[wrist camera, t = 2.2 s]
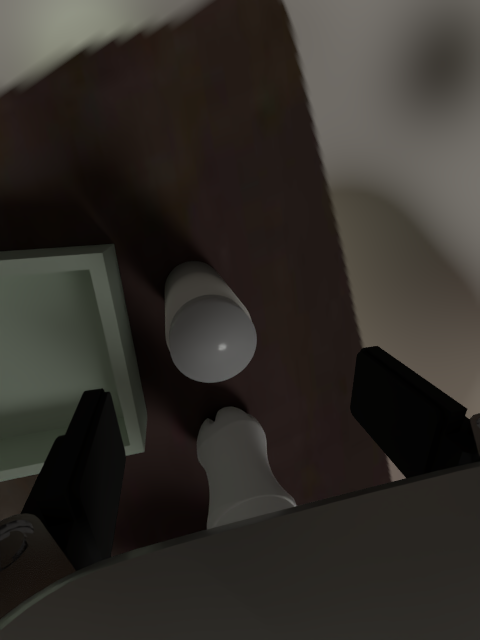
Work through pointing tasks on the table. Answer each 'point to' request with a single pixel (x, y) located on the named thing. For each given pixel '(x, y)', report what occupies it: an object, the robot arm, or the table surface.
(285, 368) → the table surface
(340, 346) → the table surface
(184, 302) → the shaker
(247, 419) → the water bottle
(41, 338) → the tray
